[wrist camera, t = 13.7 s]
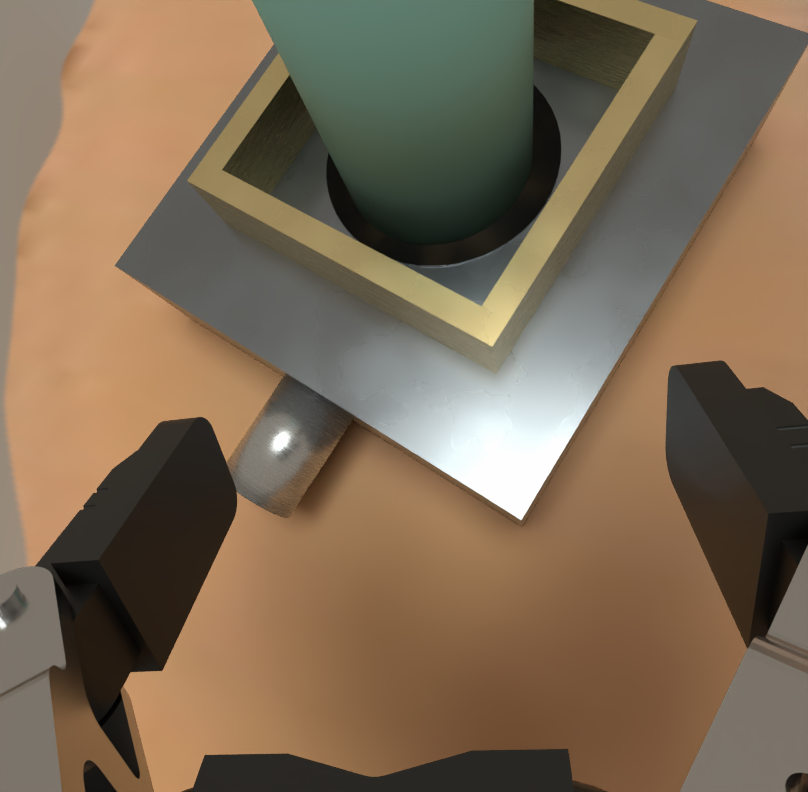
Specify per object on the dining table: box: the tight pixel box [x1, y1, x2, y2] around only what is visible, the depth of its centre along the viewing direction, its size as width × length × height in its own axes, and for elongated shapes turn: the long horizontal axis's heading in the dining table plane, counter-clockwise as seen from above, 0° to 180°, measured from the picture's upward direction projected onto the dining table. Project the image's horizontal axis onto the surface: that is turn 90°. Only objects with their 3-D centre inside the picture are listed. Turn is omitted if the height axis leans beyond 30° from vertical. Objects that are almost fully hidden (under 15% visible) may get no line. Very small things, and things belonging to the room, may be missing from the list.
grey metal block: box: [115, 0, 808, 527], centre depth 21 cm, size 21×16×8 cm
